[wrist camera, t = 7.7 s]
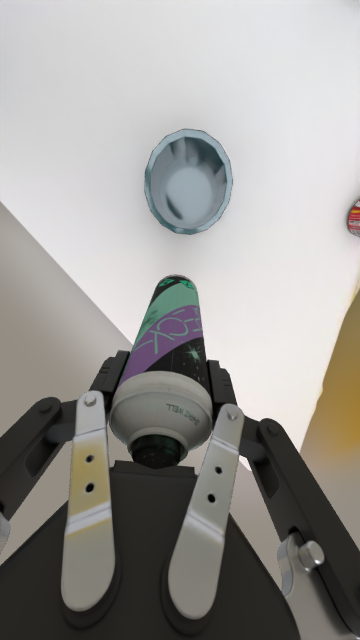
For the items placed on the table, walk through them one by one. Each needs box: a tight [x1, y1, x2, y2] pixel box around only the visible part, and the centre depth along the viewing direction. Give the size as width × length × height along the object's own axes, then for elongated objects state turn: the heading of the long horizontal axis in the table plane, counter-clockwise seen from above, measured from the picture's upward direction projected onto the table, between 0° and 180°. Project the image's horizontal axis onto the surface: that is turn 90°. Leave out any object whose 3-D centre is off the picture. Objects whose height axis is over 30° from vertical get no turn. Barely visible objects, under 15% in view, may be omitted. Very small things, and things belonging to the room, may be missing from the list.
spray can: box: [109, 275, 213, 469], centre depth 17 cm, size 6×6×20 cm
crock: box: [145, 129, 233, 235], centre depth 29 cm, size 10×10×10 cm
